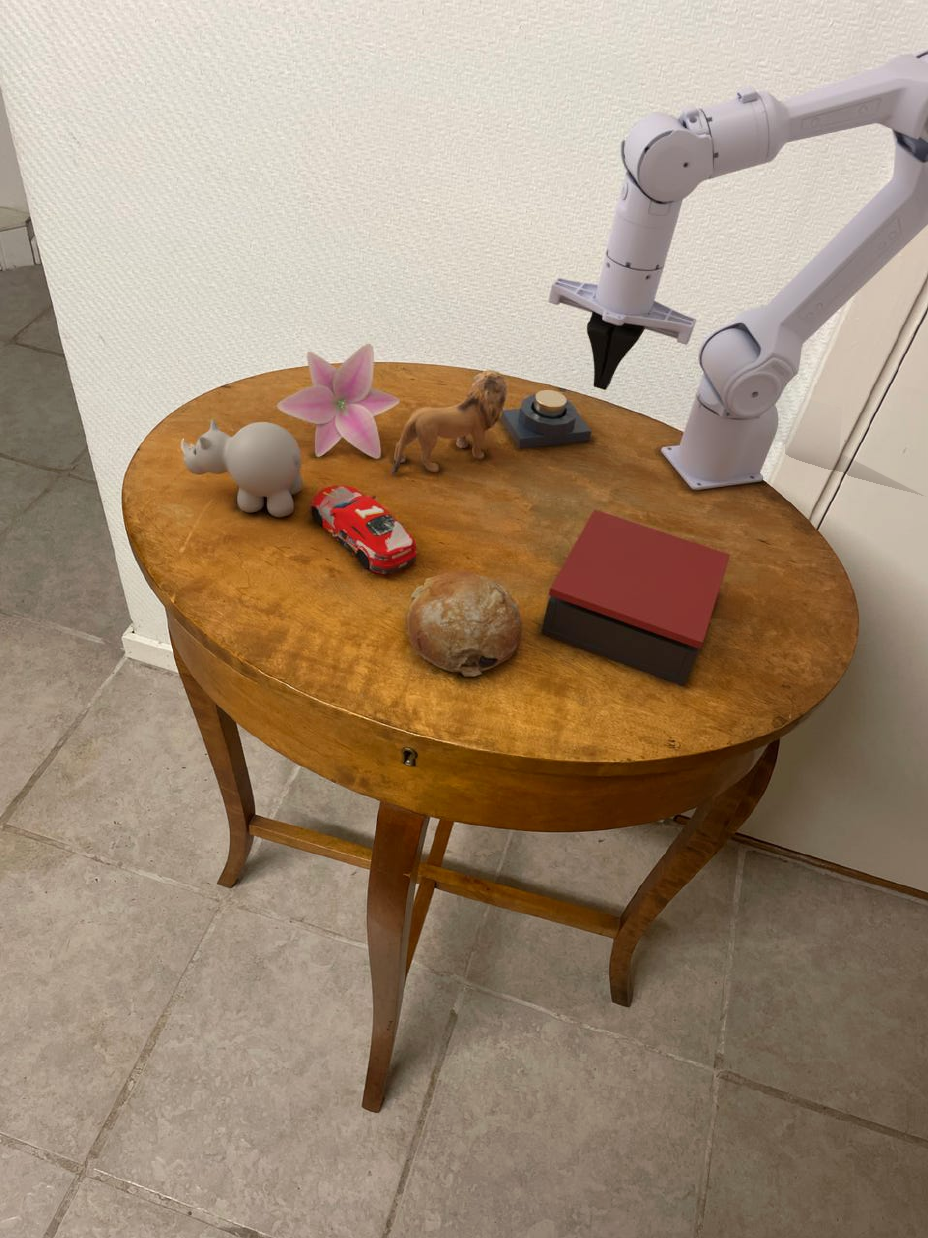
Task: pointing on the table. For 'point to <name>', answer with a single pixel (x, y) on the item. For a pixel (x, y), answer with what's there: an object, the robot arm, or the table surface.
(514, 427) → the control block
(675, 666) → the black open box
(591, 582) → the lid
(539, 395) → the button
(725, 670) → the table surface
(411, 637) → the bread roll
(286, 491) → the round bodied animal figurine
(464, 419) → the lion figurine
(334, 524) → the race car
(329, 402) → the lily
